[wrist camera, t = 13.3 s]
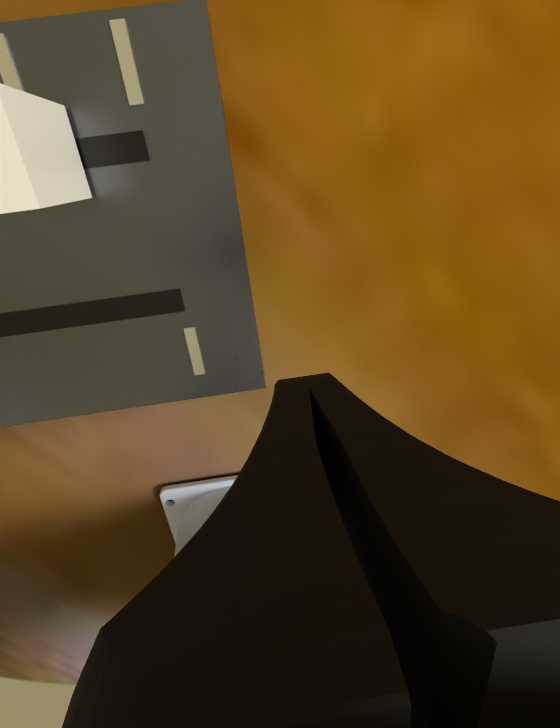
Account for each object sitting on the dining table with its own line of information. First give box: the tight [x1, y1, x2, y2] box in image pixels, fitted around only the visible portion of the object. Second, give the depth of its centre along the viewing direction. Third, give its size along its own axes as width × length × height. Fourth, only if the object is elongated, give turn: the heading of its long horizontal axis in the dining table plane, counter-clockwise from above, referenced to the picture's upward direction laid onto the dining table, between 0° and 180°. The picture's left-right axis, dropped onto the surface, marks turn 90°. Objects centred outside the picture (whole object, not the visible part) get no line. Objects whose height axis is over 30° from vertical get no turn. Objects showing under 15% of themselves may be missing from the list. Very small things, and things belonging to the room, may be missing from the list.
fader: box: [0, 83, 92, 214], centre depth 13 cm, size 3×2×4 cm
